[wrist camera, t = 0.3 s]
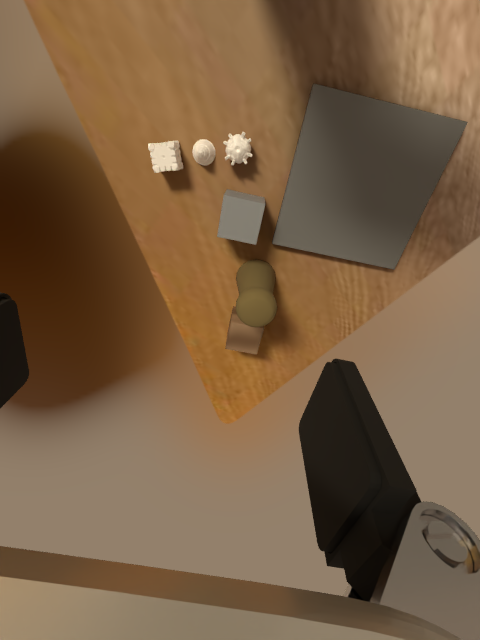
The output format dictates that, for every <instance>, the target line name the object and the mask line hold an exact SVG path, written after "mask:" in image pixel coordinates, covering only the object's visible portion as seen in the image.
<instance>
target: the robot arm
mask: <svg viewBox="0 0 480 640" xmlns="http://www.w3.org/2000/svg"><path fill="white" fill-rule="evenodd" d="M28 376H29V369H28V364H27V359H26V353H25V347H24V342H23V336H22V331H21V326H20V320H19V315H18V309H17V305H16V303H15V301H13V300H12V299H11V297H10V296H9V295H7V294H5V293H0V408H1V407H2V406H3V405H4V404H5V403H6V402H7V401H8V400H9V399H10V398H11V397H12V396H13V395H14V394H15V393H16V392H17V391H18V390H19V389H20V388H21V387H22V386H23V385H24V384H25V382H26V381H27V379H28ZM299 435H300V441H301V447H302V453H303V459H304V465H305V471H306V477H307V483H308V489H309V495H310V501H311V507H312V513H313V519H314V525H315V531H316V537H317V543H318V546H319V548H320V550H321V551H325V557H326V563H327V566H331V567H337V568H344V570H345V575H346V579H347V582H348V583H349V584H348V586H347V589H346V591H345V593H344V595H343V596H338V595H332V594H326V593H320V592H313V591H308V590H302V589H296V588H289V587H284V586H277V585H271V584H265V583H258V582H252V581H245V580H237V579H231V578H224V577H217V576H210V575H203V574H195V573H189V572H182V571H175V570H168V569H161V568H154V567H147V566H141V565H134V564H126V563H119V562H112V561H105V560H98V559H91V558H83V557H76V556H69V555H62V554H55V553H48V552H40V551H33V550H26V549H19V548H11V547H4V546H0V640H480V540H479V539H478V537H477V535H476V534H475V533H474V532H473V531H472V529H471V528H470V527H469V526H468V525H467V524H466V523H465V522H464V521H463V520H462V519H461V518H459V517H458V516H457V515H456V514H455V513H453V512H452V511H450V510H448V509H447V508H445V507H444V506H441V505H438V504H436V503H433V502H421V500H420V498H419V496H418V494H417V492H416V488H415V486H414V484H413V482H412V480H411V478H410V476H409V474H408V472H407V470H406V468H405V466H404V464H403V462H402V460H401V458H400V455H399V453H398V451H397V449H396V447H395V445H394V443H393V441H392V439H391V437H390V435H389V433H388V431H387V429H386V427H385V425H384V423H383V420H382V418H381V416H380V414H379V412H378V410H377V408H376V406H375V404H374V402H373V400H372V398H371V396H370V394H369V391H368V390H367V387H366V385H365V383H364V381H363V379H362V377H361V375H360V373H359V371H358V369H357V367H356V365H355V363H354V362H350V361H345V360H340V359H334V360H333V361H332V362H327V363H326V365H325V367H324V369H323V371H322V373H321V375H320V378H319V380H318V382H317V384H316V387H315V389H314V391H313V393H312V395H311V398H310V400H309V402H308V405H307V407H306V409H305V411H304V413H303V416H302V418H301V420H300V424H299Z"/></svg>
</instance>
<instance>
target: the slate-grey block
mask: <svg viewBox="0 0 480 640" xmlns="http://www.w3.org/2000/svg"><path fill="white" fill-rule="evenodd" d="M264 208H265V199H264V197H260V196H255V195H251V194H246V193H242V192H237V191H233V190H228V189H227V190H226V192H225V194H224V198H223V204H222V210H221V216H220V223H219V229H218V235H217V237H221V238H226V239H231V240H236V241H240V242H245V243H250V244H255V245H256V243H257V238H258V234H259V230H260V225H261V221H262V217H263V212H264Z"/></svg>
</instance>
